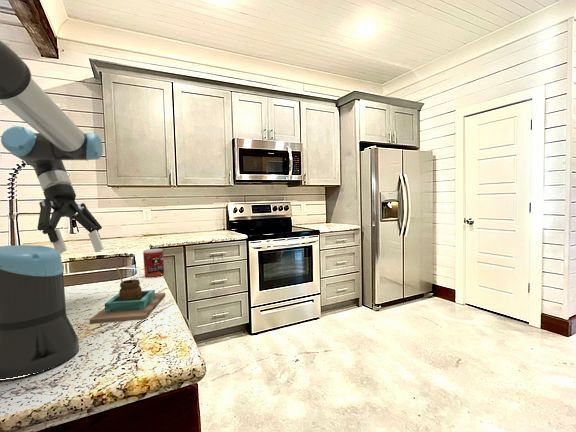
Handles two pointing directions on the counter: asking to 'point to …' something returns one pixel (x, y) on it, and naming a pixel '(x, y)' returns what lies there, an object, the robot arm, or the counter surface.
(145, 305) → the cradle jig
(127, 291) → the utensil holder
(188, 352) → the counter surface
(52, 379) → the counter surface
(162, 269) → the canned food
